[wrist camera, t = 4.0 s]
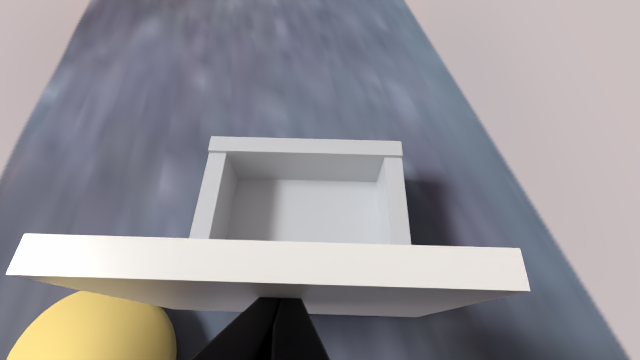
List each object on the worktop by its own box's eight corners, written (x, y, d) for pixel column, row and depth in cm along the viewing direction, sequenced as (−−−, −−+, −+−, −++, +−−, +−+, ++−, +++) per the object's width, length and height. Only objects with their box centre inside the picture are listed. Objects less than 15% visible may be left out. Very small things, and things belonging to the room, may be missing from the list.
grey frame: (399, 308, 15) (418, 296, 12) (202, 302, 15) (174, 289, 12) (388, 174, 18) (401, 141, 15) (227, 170, 18) (211, 136, 15)
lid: (414, 296, 12) (416, 317, 11) (177, 288, 12) (173, 309, 11) (519, 248, 6) (530, 291, 5) (23, 233, 6) (5, 274, 5)
